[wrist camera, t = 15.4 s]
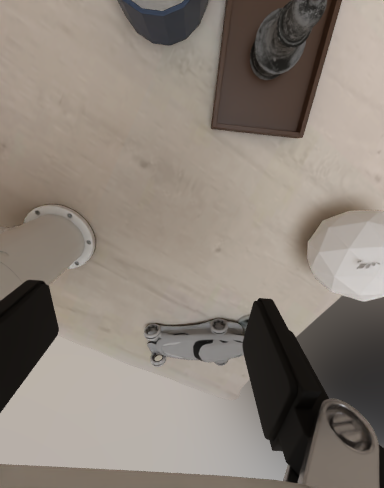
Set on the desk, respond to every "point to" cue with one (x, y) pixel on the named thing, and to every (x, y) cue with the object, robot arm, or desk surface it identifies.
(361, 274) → the geodesic sphere
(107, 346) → the desk surface
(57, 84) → the desk surface
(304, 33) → the salt shaker
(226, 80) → the tray
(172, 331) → the car model
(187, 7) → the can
